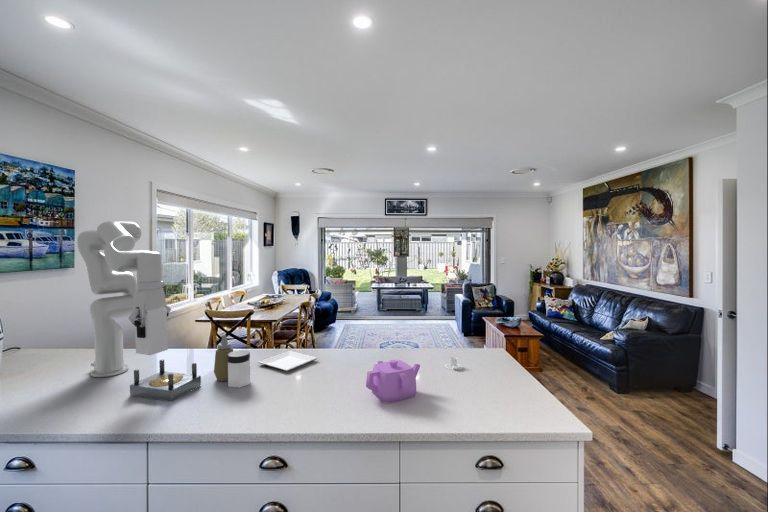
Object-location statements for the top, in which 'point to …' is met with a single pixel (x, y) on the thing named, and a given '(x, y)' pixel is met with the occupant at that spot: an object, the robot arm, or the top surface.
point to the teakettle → (392, 380)
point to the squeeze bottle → (222, 359)
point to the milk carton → (153, 332)
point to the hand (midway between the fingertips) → (151, 334)
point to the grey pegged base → (165, 384)
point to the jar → (238, 368)
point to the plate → (287, 360)
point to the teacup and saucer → (453, 364)
